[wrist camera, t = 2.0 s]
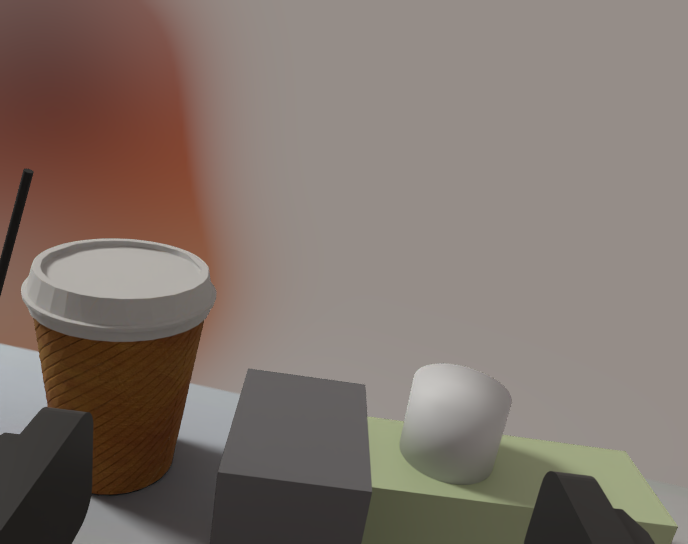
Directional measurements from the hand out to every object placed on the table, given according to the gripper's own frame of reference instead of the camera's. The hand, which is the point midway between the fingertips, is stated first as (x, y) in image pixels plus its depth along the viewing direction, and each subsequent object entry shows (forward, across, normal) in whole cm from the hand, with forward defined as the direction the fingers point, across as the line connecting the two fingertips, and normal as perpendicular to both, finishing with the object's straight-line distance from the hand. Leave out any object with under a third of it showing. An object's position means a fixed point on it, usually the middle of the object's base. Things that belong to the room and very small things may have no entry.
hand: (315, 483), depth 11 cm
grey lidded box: (+11, 0, +17) cm, 20 cm away
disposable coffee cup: (+21, +10, +17) cm, 29 cm away
